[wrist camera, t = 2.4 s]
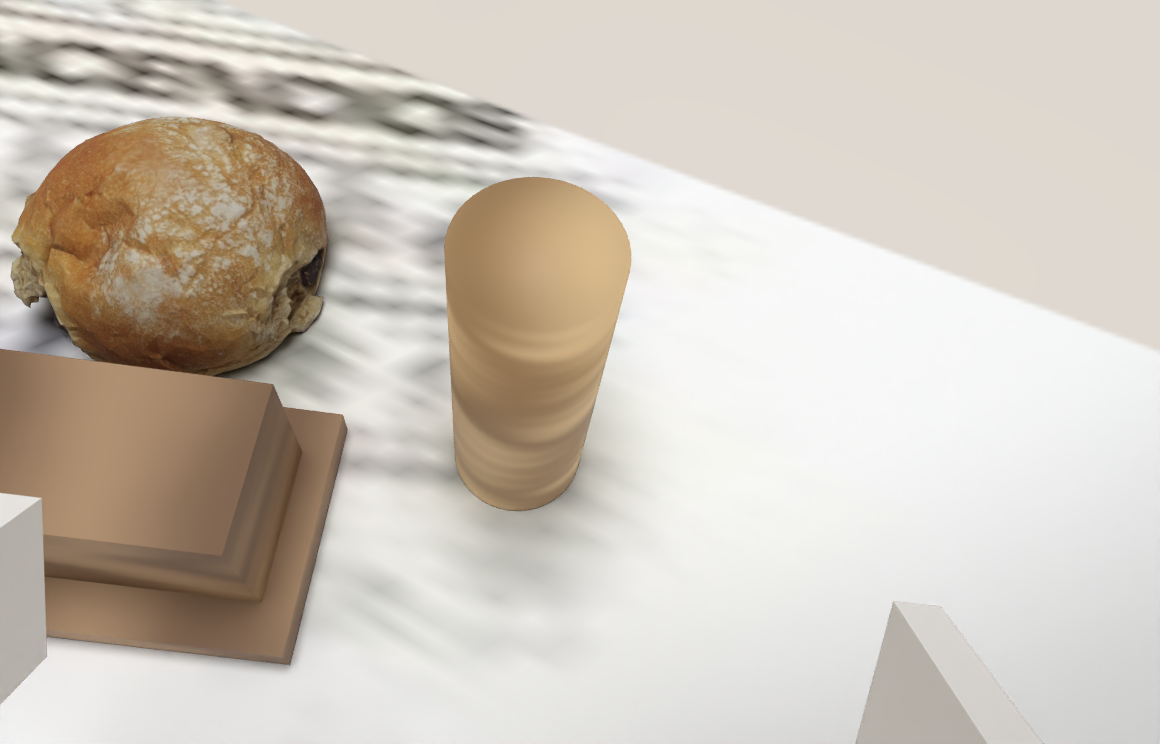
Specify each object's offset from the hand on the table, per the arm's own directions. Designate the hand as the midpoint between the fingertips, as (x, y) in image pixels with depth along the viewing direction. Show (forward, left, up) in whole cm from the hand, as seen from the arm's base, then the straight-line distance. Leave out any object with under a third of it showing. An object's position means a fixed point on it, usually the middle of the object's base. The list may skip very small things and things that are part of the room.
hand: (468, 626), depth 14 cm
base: (+14, -5, -15) cm, 21 cm away
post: (0, -9, -15) cm, 18 cm away
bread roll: (+13, -15, -15) cm, 25 cm away
